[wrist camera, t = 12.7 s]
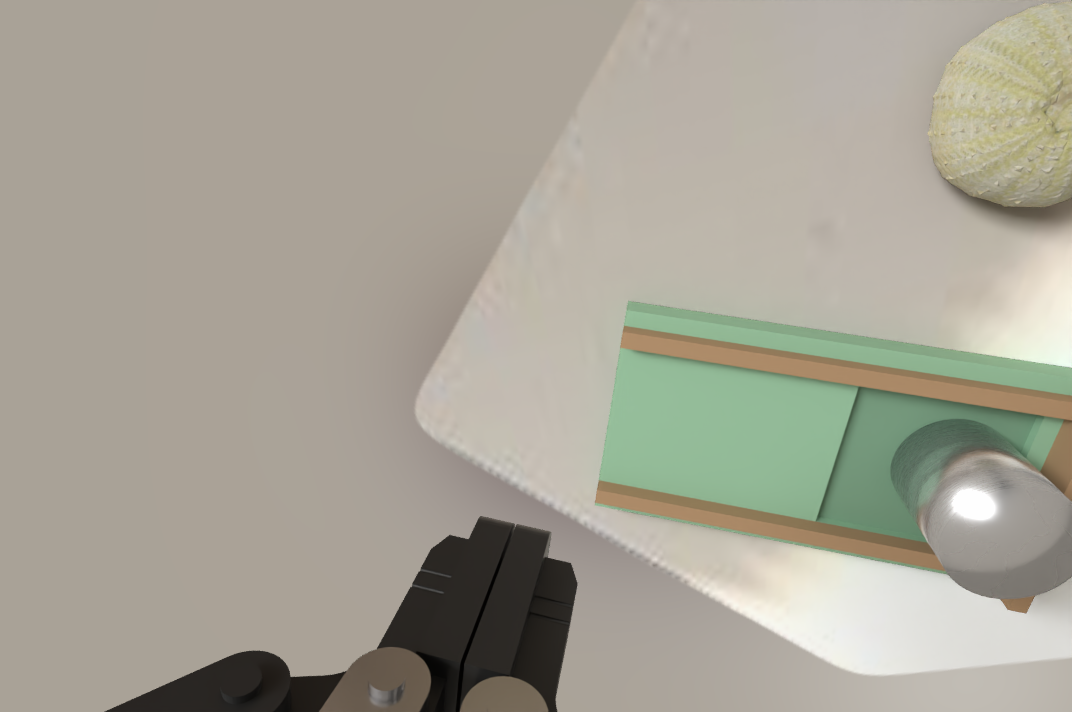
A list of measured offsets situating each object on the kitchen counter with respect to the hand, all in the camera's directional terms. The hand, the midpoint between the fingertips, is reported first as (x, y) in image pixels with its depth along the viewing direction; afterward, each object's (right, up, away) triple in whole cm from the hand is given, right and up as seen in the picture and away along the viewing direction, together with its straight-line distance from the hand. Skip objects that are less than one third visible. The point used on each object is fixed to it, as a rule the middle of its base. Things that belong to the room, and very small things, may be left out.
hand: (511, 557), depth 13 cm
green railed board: (+18, -1, +28) cm, 33 cm away
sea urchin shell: (+25, +17, +20) cm, 36 cm away
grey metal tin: (+26, -3, +25) cm, 36 cm away
